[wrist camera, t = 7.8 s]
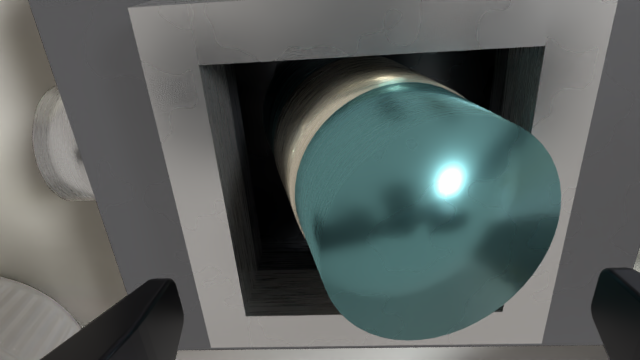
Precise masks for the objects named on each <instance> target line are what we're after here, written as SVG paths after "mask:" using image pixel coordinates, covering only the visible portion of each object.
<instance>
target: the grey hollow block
mask: <svg viewBox="0 0 640 360" xmlns="http://www.w3.org/2000/svg"><path fill="white" fill-rule="evenodd" d="M28 1H29V4H30V7H31V10H32V13H33V16H34V19H35V22H36V25H37V28H38V31H39V34H40V37H41V40H42V43H43V46H44V49H45V52H46V55H47V57H48V60H49V63H50V66H51V69H52V72H53V75H54V78H55V81H56V84H57V86H54V87H52V88H51V89H49V90H48V91H47V92H46V93H45V94H44V96H43V97H42V98H41V100H40V102H39V104H38V106H37V109H36V112H35V116H34V121H33V131H32V139H33V149H34V155H35V159H36V162H37V165H38V168H39V171H40V173H41V175H42V177H43V179H44V181H45V182H46V184H47V185H48V186H49V188H50V189H51V190H52V191H53V192H54V193H55V194H56V195H58V196H59V197H61V198H63V199H65V200H68V201H89V200H96V202H97V205H98V208H99V211H100V214H101V217H102V220H103V223H104V226H105V229H106V232H107V235H108V238H109V241H110V244H111V247H112V250H113V253H114V256H115V259H116V262H117V265H118V267H119V270H120V273H121V276H122V279H123V282H124V285H125V288H126V291H127V294H128V295H129V294H130V293H131V292H133V291H134V290H135V289H137V288H138V287H139V286H141V285H142V284H144V283H145V282H146V281H148V280H150V279H154V278H171V279H173V280H174V281H175V283H176V286H177V289H178V293H179V297H180V301H181V304H182V308H183V312H184V324H183V329H182V333H181V338H180V342H179V346H178V350H243V349H323V348H402V347H481V346H561V345H603V343H602V341H601V338H600V336H599V333H598V331H597V328H596V326H595V323H594V321H593V318H592V314H591V302H592V299H593V295H594V292H595V288H596V284H597V281H598V277H599V274H600V272H601V271H602V270H603V269H605V268H622V267H626V268H631V269H633V267H634V264H635V260H636V257H637V254H638V251H639V248H640V0H28ZM373 55H380V56H382V57H384V58H387V59H390V60H393V61H395V62H397V63H399V64H402V65H404V66H406V67H408V68H410V69H412V70H414V71H416V72H418V73H420V74H422V75H424V76H426V77H428V78H430V79H432V80H434V81H436V82H438V83H440V84H442V85H444V86H446V87H448V88H450V89H452V90H454V91H456V92H457V93H459V94H460V95H461V96H463V97H464V98H465V99H467V100H469V101H471V102H473V103H475V104H477V105H479V106H481V107H483V108H485V109H487V110H489V111H491V112H492V113H494V114H496V115H498V116H500V117H502V118H504V119H506V120H508V121H510V122H512V123H514V124H516V125H518V126H520V127H522V128H524V129H525V130H526V131H528V132H529V133H531V134H532V135H534V136H535V137H536V138H537V139H538V140H539V141H540V142H541V143H542V144H543V146H544V147H545V148H546V150H547V151H548V153H549V154H550V156H551V158H552V160H553V162H554V164H555V166H556V169H557V172H558V176H559V180H560V188H561V210H560V215H559V221H558V225H557V228H556V232H555V235H554V238H553V240H552V242H551V245H550V247H549V249H548V251H547V253H546V255H545V257H544V259H543V260H542V262H541V264H540V265H539V267H538V268H537V269H536V271H535V272H534V274H533V275H532V276H531V278H530V279H529V280H528V281H527V282H526V284H525V285H524V286H523V287H522V288H521V289H520V290H519V291H518V292H517V293H516V294H515V295H514V296H513V297H512V298H511V299H510V300H508V301H507V302H506V303H505V304H504V305H502V306H501V307H500V308H498V309H497V310H496V311H494V312H493V313H491V314H490V315H488V316H487V317H485V318H483V319H482V320H480V321H478V322H477V323H475V324H472V325H470V326H468V327H466V328H464V329H462V330H459V331H456V332H453V333H451V334H447V335H444V336H440V337H436V338H430V339H424V340H409V341H406V340H393V339H388V338H382V337H379V336H376V335H373V334H370V333H368V332H366V331H364V330H362V329H360V328H358V327H356V326H355V325H353V324H352V323H351V322H349V321H348V320H347V319H346V318H345V317H344V316H343V315H342V314H341V313H340V312H339V311H338V310H337V309H336V307H335V306H334V304H333V303H332V301H331V300H330V298H329V295H328V293H327V291H326V289H325V287H324V284H323V281H322V279H321V276H320V274H319V271H318V269H317V266H316V263H315V261H314V258H313V256H312V253H311V251H310V248H309V245H308V243H307V240H306V238H305V237H304V235H303V234H302V232H301V229H300V227H299V225H298V223H297V220H296V218H295V215H294V212H293V210H292V207H291V204H290V202H289V199H288V197H287V194H286V191H285V189H284V186H283V183H282V181H281V178H280V175H279V173H278V170H277V166H276V163H275V158H274V155H273V153H272V150H271V147H270V145H269V142H268V140H267V137H266V134H265V130H264V125H263V104H264V99H265V95H266V92H267V89H268V87H269V84H270V82H271V81H272V79H273V77H274V75H275V74H276V73H277V71H278V70H279V69H280V67H281V66H282V65H283V64H284V63H285V62H286V61H287V60H302V59H320V58H337V57H355V56H373Z"/></svg>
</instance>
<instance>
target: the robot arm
mask: <svg viewBox="0 0 640 360" xmlns="http://www.w3.org/2000/svg"><path fill="white" fill-rule="evenodd" d="M591 314H592V318H593V321H594V323H595V326H596V328H597V331H598V333H599V336H600V338H601V341H602V343H603V346H604V348H605V350H606V353H607V355H608V358H609V360H640V273H639V272H637V271H636V270H634V269H631V268H626V267H622V268H605V269H603V270H602V271H601V272H600V274H599V277H598V281H597V284H596V288H595V292H594V295H593V299H592V302H591ZM183 324H184V312H183V308H182V304H181V301H180V297H179V293H178V289H177V286H176V283H175V281H174V280H173V279H171V278H154V279H150V280H148V281H146V282H145V283H144V284H142V285H141V286H139V287H138V288H137V289H135V290H134V291H133V292H131V293H130V294H129V295H127V296H126V297H124V298H123V299H122V300H120V301H119V302H118V303H116V304H115V305H114V306H112V307H111V308H109V309H108V310H107V311H105V312H104V313H103V314H101V315H100V316H99V317H97V318H96V319H94V320H93V321H92V322H90V323H89V324H88V325H86V326H85V327H84V328H82V329H81V330H79V331H78V332H77V333H75V334H74V335H73V336H71V337H70V338H69V339H67V340H66V341H64V342H63V343H62V344H60V345H59V346H58V347H56V348H55V349H53V350H52V351H51V352H49V353H48V354H47V355H45V356H44V357H43V358H41V359H40V360H175V359H176V355H177V350H178V346H179V342H180V338H181V333H182V329H183Z"/></svg>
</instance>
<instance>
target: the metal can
mask: <svg viewBox="0 0 640 360" xmlns="http://www.w3.org/2000/svg"><path fill="white" fill-rule="evenodd" d="M263 125H264V130H265V134H266V137H267V140H268V142H269V145H270V147H271V150H272V153H273V155H274V158H275V163H276V166H277V170H278V173H279V175H280V178H281V181H282V183H283V186H284V189H285V191H286V194H287V197H288V199H289V202H290V204H291V207H292V210H293V212H294V215H295V218H296V220H297V223H298V225H299V227H300V229H301V232H302V234H303V235H304V237H305V238H306V240H307V243H308V245H309V248H310V251H311V253H312V256H313V258H314V261H315V263H316V266H317V269H318V271H319V274H320V276H321V279H322V281H323V284H324V287H325V289H326V291H327V293H328V295H329V298H330V300H331V301H332V303H333V304H334V306H335V307H336V309H337V310H338V311H339V312H340V313H341V314H342V315H343V316H344V317H345V318H346V319H347V320H348V321H349V322H351V323H352V324H353V325H355V326H356V327H358V328H360V329H362V330H364V331H366V332H368V333H370V334H373V335H376V336H379V337H382V338H388V339H393V340H406V341H409V340H424V339H430V338H436V337H440V336H444V335H447V334H451V333H453V332H456V331H459V330H462V329H464V328H466V327H468V326H470V325H472V324H475V323H477V322H478V321H480V320H482V319H483V318H485V317H487V316H488V315H490V314H491V313H493V312H494V311H496V310H497V309H498V308H500V307H501V306H502V305H504V304H505V303H506V302H507V301H508V300H510V299H511V298H512V297H513V296H514V295H515V294H516V293H517V292H518V291H519V290H520V289H521V288H522V287H523V286H524V285H525V284H526V282H527V281H528V280H529V279H530V278H531V276H532V275H533V274H534V272H535V271H536V269H537V268H538V267H539V265H540V264H541V262H542V260H543V259H544V257H545V255H546V253H547V251H548V249H549V247H550V245H551V242H552V240H553V238H554V235H555V232H556V228H557V225H558V221H559V215H560V210H561V188H560V180H559V176H558V172H557V169H556V166H555V164H554V162H553V160H552V158H551V156H550V154H549V153H548V151H547V150H546V148H545V147H544V146H543V144H542V143H541V142H540V141H539V140H538V139H537V138H536V137H535V136H534V135H532V134H531V133H529V132H528V131H526V130H525V129H524V128H522V127H520V126H518V125H516V124H514V123H512V122H510V121H508V120H506V119H504V118H502V117H500V116H498V115H496V114H494V113H492V112H491V111H489V110H487V109H485V108H483V107H481V106H479V105H477V104H475V103H473V102H471V101H469V100H467V99H465V98H464V97H463V96H461V95H460V94H459V93H457V92H456V91H454V90H452V89H450V88H448V87H446V86H444V85H442V84H440V83H438V82H436V81H434V80H432V79H430V78H428V77H426V76H424V75H422V74H420V73H418V72H416V71H414V70H412V69H410V68H408V67H406V66H404V65H402V64H399V63H397V62H395V61H393V60H390V59H387V58H384V57H382V56H380V55H373V56H355V57H337V58H320V59H302V60H287V61H286V62H285V63H284V64H283V65H282V66H281V67H280V69H279V70H278V71H277V73H276V74H275V75H274V77H273V79H272V81H271V82H270V84H269V87H268V89H267V92H266V95H265V99H264V104H263Z"/></svg>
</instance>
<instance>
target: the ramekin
mask: <svg viewBox="0 0 640 360" xmlns="http://www.w3.org/2000/svg"><path fill="white" fill-rule="evenodd" d="M79 330H81V327H80V325H79V324H78V323H77V321H76V320H75V319H74V318H73V317H72V316H71V314H70V313H69V312H68V311H67V310H66V309H64V308H63V307H62V306H61V305H60V304H59V303H57V302H56V301H55V300H54V299H52V298H51V297H49V296H47V295H46V294H44V293H42V292H41V291H39V290H37V289H35V288H33V287H30V286H28V285H26V284H23V283H21V282H18V281H15V280H11V279H8V278H3V277H0V360H40V359H41V358H43V357H44V356H45V355H47V354H48V353H49V352H51V351H52V350H53V349H55V348H56V347H58V346H59V345H60V344H62V343H63V342H64V341H66V340H67V339H69V338H70V337H71V336H73V335H74V334H75V333H77V332H78V331H79Z"/></svg>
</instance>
